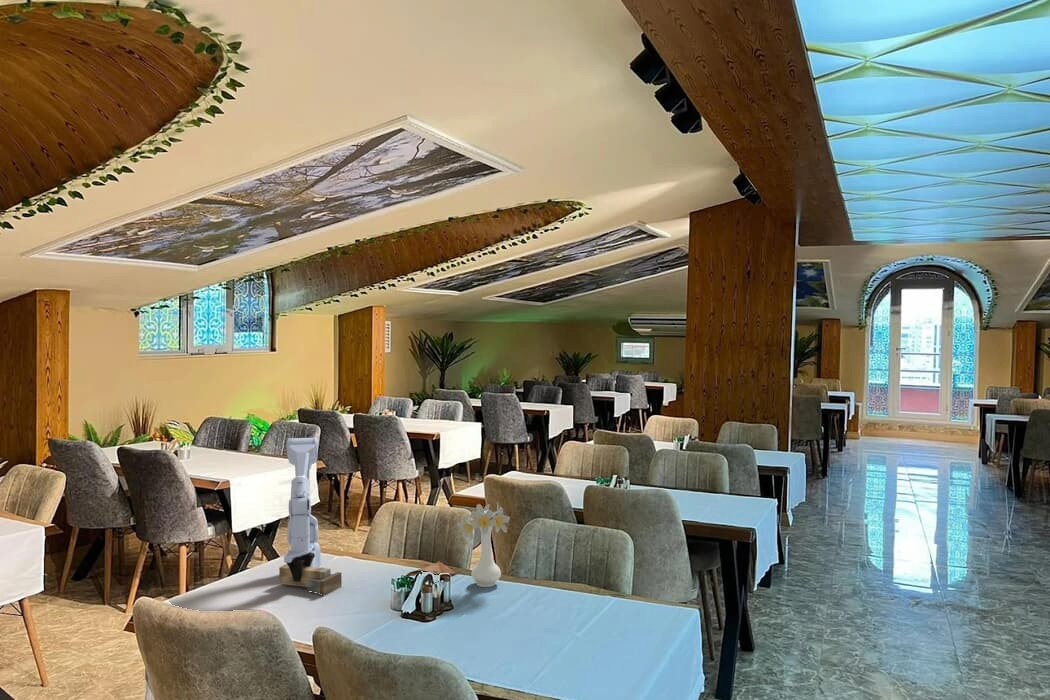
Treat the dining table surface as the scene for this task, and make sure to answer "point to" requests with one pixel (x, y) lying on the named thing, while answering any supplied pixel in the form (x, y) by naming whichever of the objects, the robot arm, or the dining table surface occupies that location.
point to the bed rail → (302, 575)
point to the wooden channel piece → (325, 584)
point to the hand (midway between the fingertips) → (300, 579)
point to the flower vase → (485, 542)
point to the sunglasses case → (434, 569)
